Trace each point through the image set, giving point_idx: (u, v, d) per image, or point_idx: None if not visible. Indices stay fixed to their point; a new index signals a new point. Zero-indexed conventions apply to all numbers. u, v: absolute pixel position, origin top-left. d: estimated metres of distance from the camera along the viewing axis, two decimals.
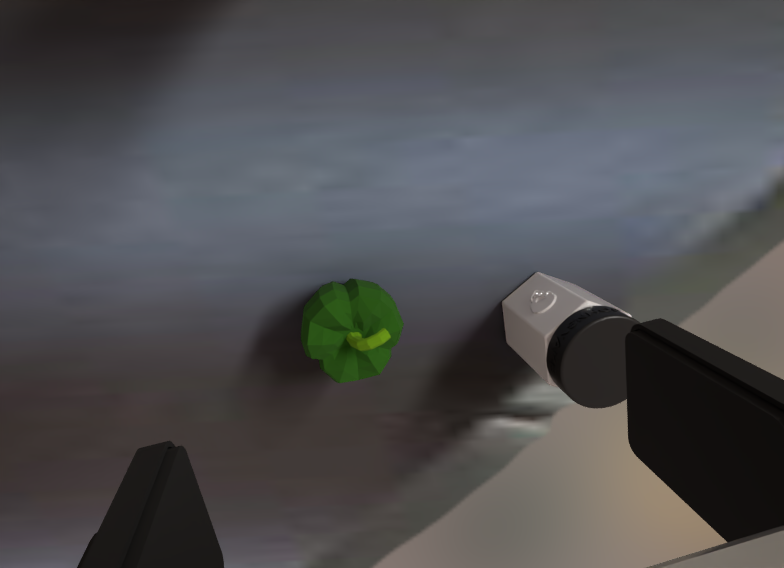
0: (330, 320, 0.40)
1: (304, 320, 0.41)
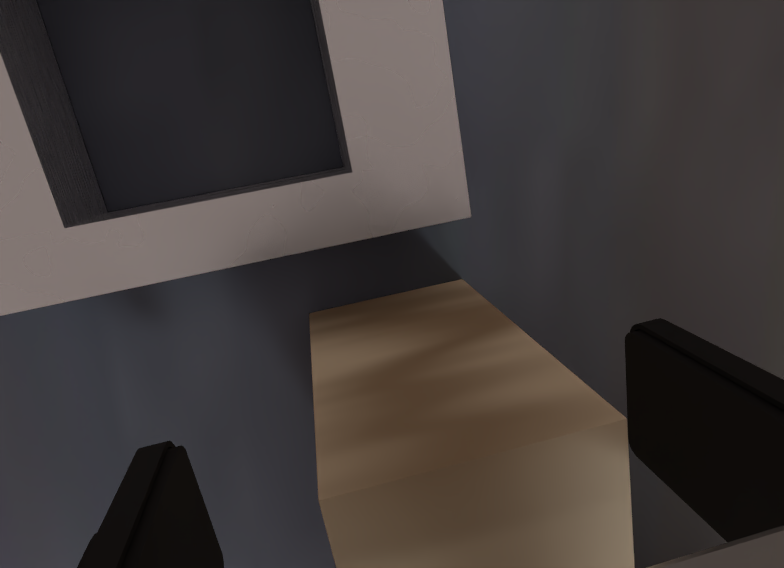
0: None
1: None
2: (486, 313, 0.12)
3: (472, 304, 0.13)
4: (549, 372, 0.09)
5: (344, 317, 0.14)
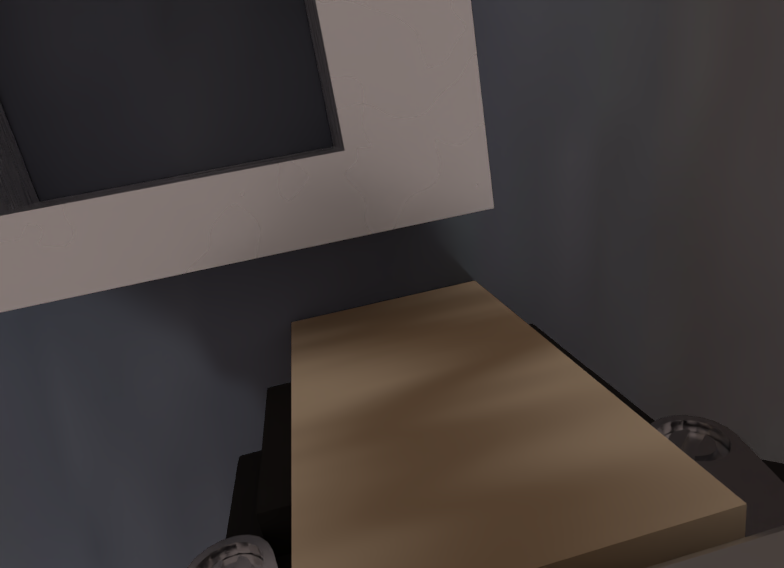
0: None
1: None
2: (510, 326, 0.10)
3: (491, 314, 0.11)
4: (611, 418, 0.07)
5: (333, 328, 0.11)
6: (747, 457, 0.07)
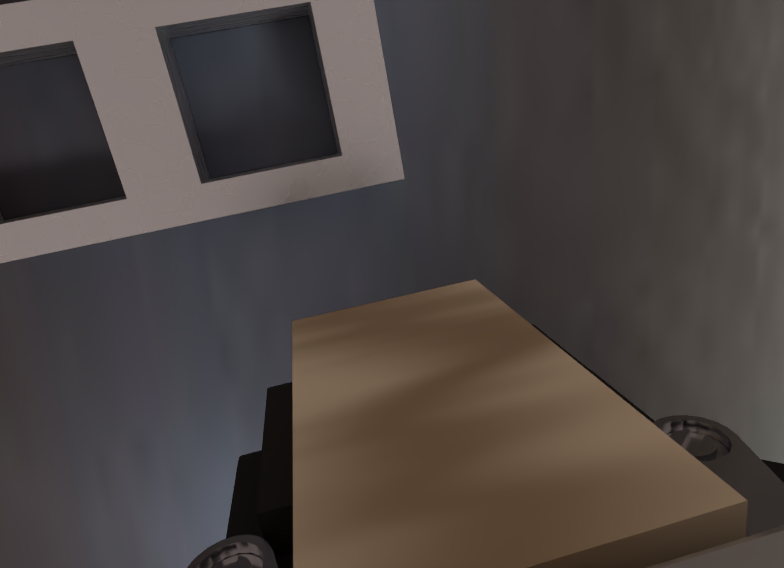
0: None
1: None
2: (510, 325, 0.10)
3: (492, 312, 0.11)
4: (612, 415, 0.07)
5: (334, 327, 0.11)
6: (747, 457, 0.07)
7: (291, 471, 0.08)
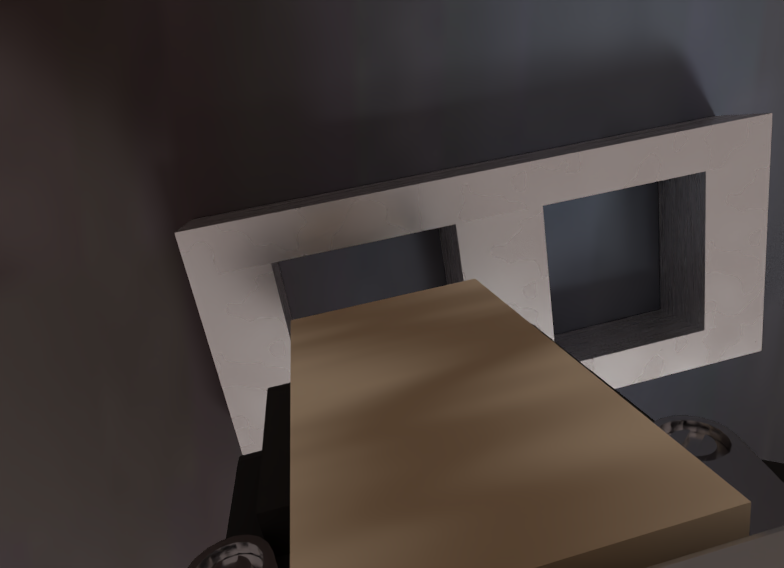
0: None
1: None
2: (511, 325, 0.10)
3: (492, 312, 0.10)
4: (613, 415, 0.07)
5: (333, 326, 0.11)
6: (747, 457, 0.07)
7: None
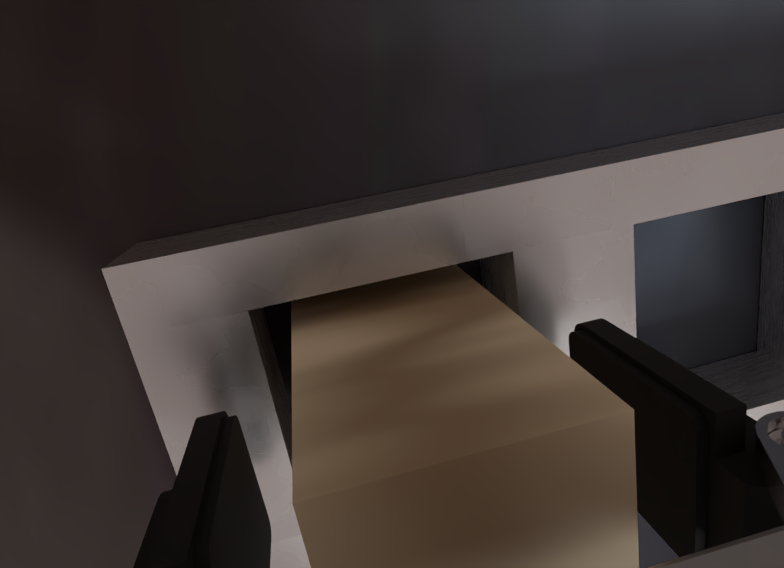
0: None
1: None
2: (478, 297, 0.11)
3: (463, 288, 0.12)
4: (547, 359, 0.08)
5: (328, 303, 0.13)
6: None
7: (195, 520, 0.07)
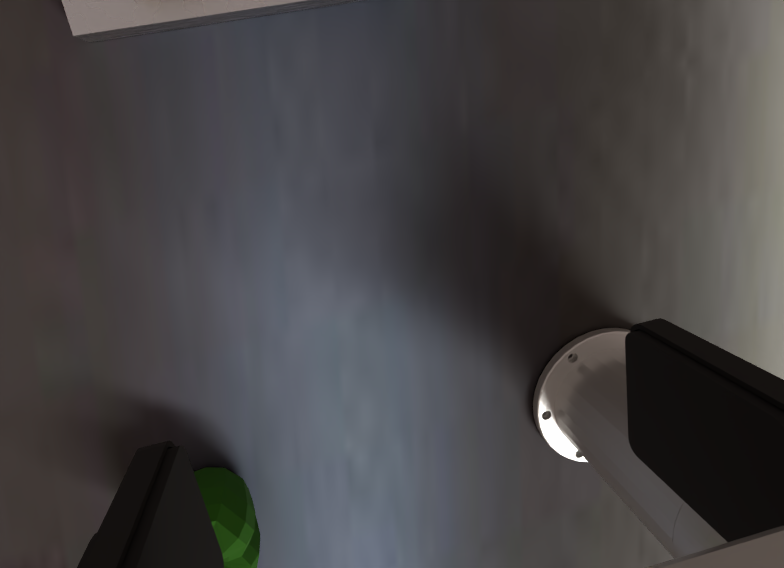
0: (220, 546, 0.34)
1: (214, 507, 0.35)
2: None
3: None
4: None
5: None
6: None
7: None
